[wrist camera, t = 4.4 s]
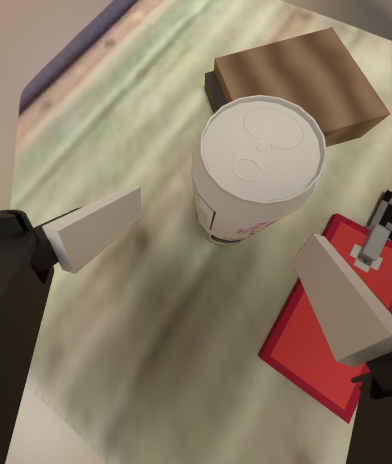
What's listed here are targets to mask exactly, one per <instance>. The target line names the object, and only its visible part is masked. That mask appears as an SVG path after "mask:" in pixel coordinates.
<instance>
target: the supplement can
mask: <svg viewBox="0 0 392 464" xmlns="http://www.w3.org/2000/svg"><path fill="white" fill-rule="evenodd" d="M326 157H327V152H326V145H325V138H324V135H323V133H322V131H321V130H320V128H319V126H318V124H317V123H316V121H315V119H314V118H313V117H311V116H310V115H309V114H308V113H307V112H306V111H304V110H303V109H302V108H301V107H300V106H298V105H296V104H293V103H291V102H289V101H286V100H284V99H282V98H278V97H271V96H263V95H256V96H250V97H243V98H239V99H237V100H234V101H232V102H230V103H228V104H226V105H224V106H222V107H221V108H220V109H219V110H218V111H217V112H216V113H215V114H214V115H213V116H212V117H211V118H210V119H209V120H208V122H207V124H206V127H205V129H204V131H203V132H202V134H201V135H200V137H199V139H198V142H197V144H196V146H195V148H194V150H193V152H192V170H191V172H192V181H193V189H194V198H195V207H196V216H197V223H198V226H199V229H200V231H201V232H202V234H203V235H204V236H205V237H206V238H207V239H208V240H210V241H212V242H213V243H215V244H220V245H224V246H225V245H232V244H236V243H238V242H239V241H241V240H243V239H245V238H247V237H249V236H250V235H252V234H254V233H256V232H258V231H259V230H261V229H263V228H265V227H267V226H269V225H270V224H272V223H274V222H276V221H278V220H279V219H281V218H283V217H285V216H287V215H288V214H290V213H292V212H294V211H296V210H298V209H299V208H300V207H301V205H302V204H303V203H304V202H305V201H306V199H307V198H308V197H309V196H310V195H311V194H312V192H313V189H314V186H315V182H316V180H317V179H318V178H319V176H320V175H321V174H322V171H323V167H324V164H325V160H326Z"/></svg>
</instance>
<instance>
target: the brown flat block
mask: <svg viewBox="0 0 392 464" xmlns="http://www.w3.org/2000/svg"><path fill="white" fill-rule="evenodd" d="M205 91H206V93H207V96H208V99H209V101H210V104H211V107H212V109H213V112H214V114H215V113H216V112H217V111H218V110H219V109H220V108H221V107H222V106H224V105H226V104H228V103H230V102H232V101H234V100H237V99H239V98H243V97H250V96H256V95H263V96H271V97H278V98H282V99H284V100H286V101H289V102H291V103H293V104H296V105H298V106H300V107H301V108H302V109H303V110H304V111H306V112H307V113H308V114H309V115H310V116H311V117H313V118H314V119H315V121H316V123H317V124H318V126H319V128H320V130H321V131H322V133H323V135H324V138H325V145H326V147H327V146H331V145H335V144H338V143H342V142H345V141H349V140H352V139H356V138H359V137H362V136H363V135H364V134H365V133H367V132H368V131H369V130H371V129H372V128H373V127H374V126H376V125H377V124H378V123H379V122H381V121H382V120H383V119H385V118H386V117H387V116H388V115H390V112H389V111H388V110H387V108H386V107H385V105H384V104H383V102H382V101H381V99H380V98H379V96H378V95H377V93H376V92H375V90H374V89H373V87H372V86H371V84H370V83H369V81H368V80H367V78H366V77H365V75H364V74H363V72H362V71H361V70H360V68H359V67H358V65H357V64H356V62H355V61H354V59H353V58H352V56H351V55H350V53H349V52H348V50H347V49H346V47H345V46H344V44H343V43H342V41H341V40H340V38H339V37H338V35H337V34H336V32H335V31H334V30H333V28H328V29H324V30H320V31H317V32H313V33H309V34H305V35H302V36H298V37H294V38H290V39H287V40H283V41H279V42H275V43H272V44H268V45H264V46H260V47H256V48H253V49H249V50H245V51H241V52H238V53H234V54H230V55H226V56H223V57H219V58H215V64H214V71H212V72H208V73H205Z"/></svg>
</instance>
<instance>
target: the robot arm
mask: <svg viewBox="0 0 392 464" xmlns="http://www.w3.org/2000/svg"><path fill="white" fill-rule="evenodd" d="M140 218H141V187H138V186H135V185H130V186H128V187H126V188H124V189H121V190H119V191H117V192H115V193H113V194H111V195H108V196H106V197H104V198H102V199H100V200H98V201H95V202H93V203H91V204H89V205H87V206H85V207H81V208H77V209H74V210H72V211H70V212H68V213H66V214H63V215H61V216H59V217H57V218H54V219H52V220H50V221H48V222H46V223H43V224H41V225H39V226H37V227H35V228H33V227H32V225H31V223H30V221H29V219H28V217H27V215H26V213H24V212H23V211H19V210H1V211H0V464H5V461H6V458H7V454H8V450H9V446H10V442H11V438H12V434H13V430H14V426H15V422H16V419H17V415H18V411H19V407H20V403H21V399H22V395H23V391H24V387H25V384H26V380H27V376H28V372H29V368H30V364H31V360H32V356H33V352H34V348H35V345H36V341H37V337H38V333H39V329H40V325H41V321H42V317H43V313H44V309H45V306H46V302H47V298H48V294H49V290H50V286H51V282H52V278H53V274H54V267H53V265H55V264H56V263H57V262H59V263H60V265H61V268H62V270H65V271H68V272H71V273H74V274H76V273H77V272H78V271H79V270H81V269H82V268H83V267H84V266H85V265H86V264H88V263H89V262H90V261H91V260H92V259H93V258H95V257H96V256H97V255H98V254H99V253H100V252H102V251H103V250H104V249H105V248H106V247H108V246H109V245H110V244H111V243H112V242H113V241H115V240H116V239H117V238H118V237H119V236H120V235H122V234H123V233H124V232H125V231H126V230H127V229H129V228H130V227H131V226H132V225H133V224H134V223H136V222H137V221H138V220H139V219H140ZM292 262H293V264H294V267H295V269H296V271H297V273H298V276H299V278H300V280H301V283H302V285H303V287H304V289H305V292H306V294H307V296H308V299H309V301H310V303H311V305H312V308H313V310H314V312H315V315H316V317H317V319H318V321H319V324H320V326H321V328H322V331H323V333H324V335H325V337H326V340H327V342H328V344H329V347H330V349H331V351H332V353H333V356H334V358H335V360H336V362H339V363H342V364H345V365H348V366H351V367H357V366H359V365H362V364H364V363H366V364H367V366H368V368H369V369H370V371H371V372H368V373H365V374H362V375H359V376H356V377H353V378H352V379H351V380H350V381H351V382H352V383H356V382H362V386H360V387H358V389H359V390H360V391H361V392H360V397H359V402H358V407H357V412H356V417H355V421H354V426H353V431H352V436H351V441H350V446H349V451H348V456H347V460H346V464H392V312H391V311H390V310H389V309H388V308H386V307H385V304H384V303H383V302H382V301H381V300H380V299H379V298H378V296H377V295H375V294H374V293H373V292H372V291H371V290H370V289H369V288H368V287H367V285H366V284H365V283H364V282H363V281H362V280H361V278H360V277H359V276H358V275H357V274H356V273H355V272H354V270H353V269H352V268H351V267H350V266H349V265H348V263H347V262H346V261H345V260H344V259H343V258H342V256H341V255H340V254H339V253H338V252H337V251H336V250H335V248H334V247H333V246H332V245H331V244H330V243H329V241H328V240H327V239H326V238H325V237H324V236H321V235H317V234H314V233H313V234H312V235H311V237H310V238H309V239H308V240H307V242H306V243H305V244H304V246H303V247H302V248H301V250H300V251H299V252H298V253H297V255H296V256H295V257H294V259H293V260H292Z"/></svg>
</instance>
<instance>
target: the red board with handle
mask: <svg viewBox="0 0 392 464" xmlns="http://www.w3.org/2000/svg"><path fill="white" fill-rule="evenodd" d="M322 236H324V237H325V238H326V239H327V240H328V241H329V243H330V244H331V245H332V246H333V247H334V248H335V250H336V251H337V252H338V253H339V254H340V255H341V256H342V258H343V259H344V260H345V261H346V262H347V263H348V265H349V266H350V267H351V268H352V269H353V270H354V272H355V273H356V274H357V275H358V276H359V277H360V278H361V280H362V281H363V282H364V283H365V284H366V285H367V287H368V288H369V289H370V290H371V291H372V292H373V293H374V294H375V295H377V296H378V298H379V299H380V300H381V301H382V302H383V303H384V304H385V307H386V308H388V309H389V310H390V311H391V312H392V242H391V241H389V240H387V238H388V236H390V237H392V192H391V191H389V190H387V191H386V193H385V195H384V197H383V199H382V201H381V203H380V205H379V207H378V209H377V211H376V214H375V216H374V218H373V220H372V222H371V224H370V226H366V227H363V226H361V225H359V224H357V223H355V222H353V221H351V220H349V219H347V218H345V217H344V216H342V215H340V214H338V213H337V214H334V215H332V217H331V219H330V221H329V223H328V224H327V226H326V228H325V230H324V232H323V234H322ZM357 256H358V257H360V258H362V259H363V260H365V261H366V262H365V263H363V262H361V261H359V260H357V259H356V258H357ZM258 356H259V357H260V358H261V359H262V360H263V361H265V362H266V363H267V364H269V365H270V366H271V367H273V368H274V369H275V370H277V371H278V372H279V373H281V374H282V375H284V376H285V377H286V378H288V379H289V380H290V381H292V382H293V383H294V384H296V385H297V386H298V387H300V388H301V389H302V390H304V391H305V392H306V393H308V394H309V395H310V396H312V397H313V398H315V399H316V400H317V401H319V402H320V403H321V404H323V405H324V406H325V407H327V408H328V409H329V410H331V411H332V412H333V413H335V414H336V415H337V416H339V417H340V418H341V419H343V420H344V421H346V422H347V423H348V424H349V422H350V420H351V418H352V415H353V413H354V411H355V408H356V406H357V404H358V401H359V397H360V392H361V391H360V390H359V389H358V387H360V386H362V382H356V383H352V382H351V381H350V380H351V379H352V378H353V377H356V376H359V375H362V374H365V373H368V372H371V371H370V369H369V368H368V366H367V364H366V363H364V364H362V365H359V366H357V367H351V366H348V365H345V364H342V363H339V362H336V360H335V358H334V356H333V353H332V351H331V349H330V347H329V344H328V342H327V340H326V337H325V335H324V333H323V331H322V328H321V326H320V324H319V321H318V319H317V317H316V315H315V312H314V310H313V308H312V305H311V303H310V301H309V299H308V296H307V294H306V292H305V289H304V287H303V285H302V283H301V280H300V278H299V279H298V281H297V283H296V285H295V287H294V289H293V291H292V293H291V294H290V296H289V298H288V300H287V302H286V304H285V306H284V308H283V310H282V311H281V313H280V315H279V317H278V319H277V321H276V323H275V325H274V327H273V329H272V330H271V332H270V334H269V336H268V338H267V340H266V342H265V344H264V346H263V347H262V349H261V351H260V353H259V355H258Z"/></svg>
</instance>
